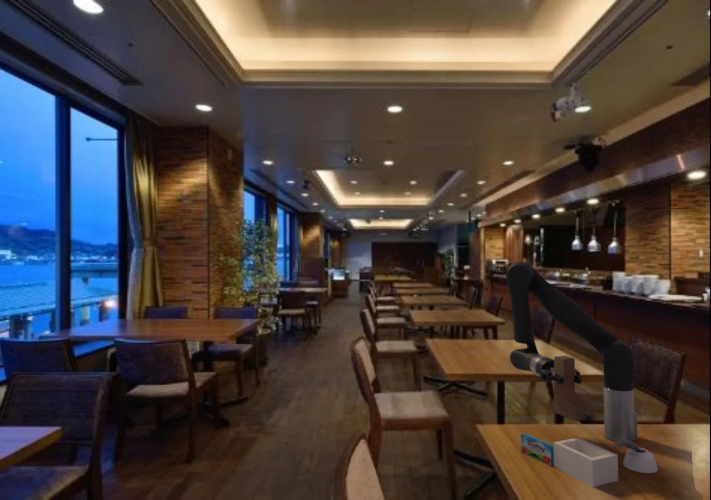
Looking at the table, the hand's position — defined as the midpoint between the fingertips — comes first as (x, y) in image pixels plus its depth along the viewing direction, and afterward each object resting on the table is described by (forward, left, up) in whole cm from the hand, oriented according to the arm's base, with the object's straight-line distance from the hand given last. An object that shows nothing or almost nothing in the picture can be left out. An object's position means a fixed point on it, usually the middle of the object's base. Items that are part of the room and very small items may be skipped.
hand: (571, 380), depth 156 cm
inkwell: (-13, +9, -25) cm, 30 cm away
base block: (+1, +9, -25) cm, 26 cm away
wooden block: (0, -2, -12) cm, 12 cm away
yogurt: (+10, -3, -25) cm, 27 cm away
